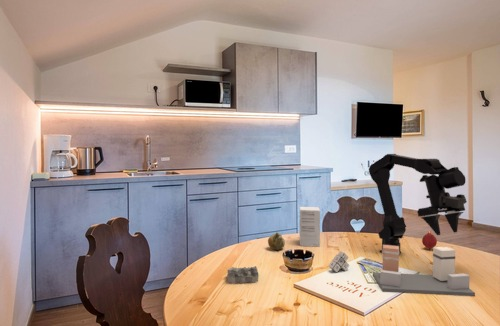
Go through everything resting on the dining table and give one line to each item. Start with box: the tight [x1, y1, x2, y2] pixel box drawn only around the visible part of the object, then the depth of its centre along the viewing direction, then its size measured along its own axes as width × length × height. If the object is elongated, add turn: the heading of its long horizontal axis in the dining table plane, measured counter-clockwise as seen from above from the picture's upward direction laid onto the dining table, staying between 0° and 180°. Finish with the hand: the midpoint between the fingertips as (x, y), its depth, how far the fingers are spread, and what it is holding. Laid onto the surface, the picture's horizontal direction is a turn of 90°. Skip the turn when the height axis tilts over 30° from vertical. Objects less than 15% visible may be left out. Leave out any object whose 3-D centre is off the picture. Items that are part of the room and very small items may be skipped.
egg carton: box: [226, 265, 260, 285], centre depth 118 cm, size 11×8×4 cm
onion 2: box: [267, 231, 286, 251], centre depth 154 cm, size 8×8×8 cm
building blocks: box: [328, 251, 350, 273], centre depth 128 cm, size 5×5×8 cm
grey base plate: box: [372, 269, 476, 297], centre depth 113 cm, size 14×27×5 cm, turn 83°
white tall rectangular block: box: [432, 246, 456, 281], centre depth 115 cm, size 4×5×10 cm
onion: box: [421, 231, 438, 250], centre depth 153 cm, size 6×6×8 cm
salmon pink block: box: [381, 245, 400, 272], centre depth 117 cm, size 4×5×10 cm
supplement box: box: [299, 206, 321, 248], centre depth 162 cm, size 10×9×17 cm
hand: (447, 233), depth 125 cm, fingers open, 9 cm apart
